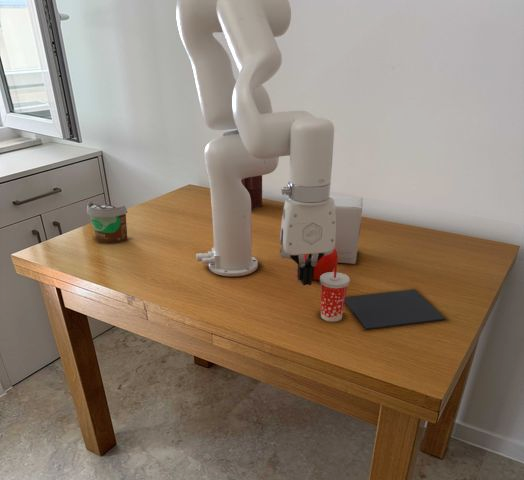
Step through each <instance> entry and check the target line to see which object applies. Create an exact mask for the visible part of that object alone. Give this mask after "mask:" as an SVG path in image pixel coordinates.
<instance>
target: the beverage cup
mask: <svg viewBox="0 0 524 480" xmlns="http://www.w3.org/2000/svg"><path fill="white" fill-rule="evenodd" d="M337 261H338V255H336V257H335V267H334V270H333V271H332V272H328V273H324V274H322V275H321V276H320V280H319V283H320V317H321V319H323V320H324V321H326V322H332V323H333V322H338V321H341V320H342V319H343V313H344V309H345V304H346V303H345V297H347V292H348V291H347V290H348V286H349V285H350V277H349V276H348V275H347V274H345V273H342V272H339V271H338V262H337ZM337 271H338V272H337Z"/></svg>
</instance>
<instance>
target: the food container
mask: <svg viewBox="0 0 524 480" xmlns="http://www.w3.org/2000/svg"><path fill="white" fill-rule="evenodd" d="M86 214H87V215H89V217H90V220H91V224H92V227H93V232H94V234H95V238H96V241H97V242H99V243H103V244H117V243H122V242H125V241H127V240H128V228H127V227H128V226H127V214H128V210H127V207H126V205H122V206H119V207H117V206H113V205H111V204H97V203H96V204H95V203H93V200H90V201H89V202H87V205H86Z"/></svg>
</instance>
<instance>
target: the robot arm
mask: <svg viewBox="0 0 524 480" xmlns="http://www.w3.org/2000/svg"><path fill="white" fill-rule="evenodd" d="M175 7H176V8H175V13H176V14H175V17H176V24H177V29H178V33H179V36H180V39H181V41H182V44H183V47H184V49H185V51H186V53H187V56H188V59H189V61H190V64H191V67H192V70H193V76H194V81H195V82H194V83H195V87H196V92H197V96H198V101H199V106H200V111H201V114H202V118H203V121H204V123H205V125H206V126H207V128H209V129H210V130H215V131H226V130H237V129H238V132H239V134H235V135H227V136H223V135H221V136H218V137H215V138H213V139H211V140H210V141H208V143H207V144H206V146H205V148H204V153H203V157H204V163H205V168H206V173H207V177H208V182H209V191H210V203H211V217H212V219H211V220H212V236H213V237H212V238H213V239H212V240H213V247H211V251H210V250H209V251H207V252H204V253H201V252H200V253H195V260H196V262H201V263H202V265H205V264H207V265H208V269H209V270H210V271H211V272H212V273H213V274H216V275H219V276H221V277H222V276H223V277H232V278H233V277H242V276H246V275H249V274H252V273H254V272H255V271H256V270H257V269H258V268H259V267H258V266H259V261H258V259H257V258H255V256H253V247H252V244H253V242H252V241H253V239H252V238H253V235H252V233H253V232H252V231H253V230H252V210H251V197H250V194H249V192H248V191H247V189H246V188H245V187H244V186H243V184H242V182H241V180H242V179H244V178H248V177H254V176H260V175H262V176H265V175H269V174H271V173H273V172H275V170H276V169H277V168H278V165H279V161H280V157H286V156H289V179H288V183H287V185H285V186H282V187H281V195H283V196H284V195H286V196H288V197H286V198H285V201H284V204H283V210H282V216H281V223H280V224H281V225H280V234H279V235H280V236H279V237H280V238H279V242H280V245H281V246H280V250H279V256H280V257H281V258H282V259H287V260H292V261H294V262H295V263H296V264H297V272H296V273H297V275H296V276H297V280H298V281H300V283H301V284H302V286H307V285H308V286H311V285H312V280H314V279H313V278H314V266H316V265H317V262H318V261H319V260H320V259H321V258H322V257H323V256H325V255H328V254H331V253H333V249H334V248H335V243H336V215H335V204H334V199H333V198H331V197H330V196H331V185H332V184H331V183H332V169H333V168H332V167H333V155H334V142H335V141H334V140H335V126H334V123H333V121H332V120H330V119H327V118H324V117H317V116H315V115H314V114H312V113H310V112H309V111H305V110H291V111H290V110H289V111H278V112H273V106H272V102H271V98H270V95H269V92H268V91H267V89H266V88H265V87H264V85H263V84H265V83H266V82H269V80H271V79H272V78H273V77H274V76H275V75H276V74H277V73H278V71H279V70H280V68H281V65H282V61H283V55H282V52H281V50H280V48H279V44H278V43H277V40H276V39H275V38H279V37H282V36H283V35H285V34H286V32H287V31H288V30H289V27H290V25H291V20H292V9H291V5H290V1H289V0H176V6H175ZM214 33H223V36H224V38H225V41H226V43H227V45H228V48H229V50H230V53H231V56H232V58H233V61H234V63H235V66H236V69H237V70H238V73H239V74H238V76H237V79H236V78H235V75H234V71H233V64H232V59H231V58H230V55H229V54H228V51H227V50H226V49H225V47H224V46H223V45H222V43H220V41H219V40H218V39H216V38H215V36H214ZM306 254H308V256H307V260H306V261H305V256H304V255H306Z"/></svg>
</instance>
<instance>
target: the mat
mask: <svg viewBox="0 0 524 480" xmlns="http://www.w3.org/2000/svg"><path fill="white" fill-rule="evenodd" d="M344 304H345V305H346V306H347V307H348V309H349V310H350V311H351V313H352V314H353V315H354V317H355V318H356V319H357V321H358V322H359V323H360V324H361V326H362V327H363V328H364V329H365V330H367V331H369V330H375V329H383V328H392V327H401V326H409V325H416V324H424V323H431V322H441V321H445V320H446V318H445V317H444V316H443V314H441V313H440V312H439V311H438V310H437V309H436V308H435V307H434V306H433V305H431V303H430V302H429V301H427V299H425V298H424V297H423V296H422V295H421V294H420V293H419V292H418V291H417V290H416V289H406V290H399V291H398V290H397V291H389V292H379V293H370V294H360V295H353V296H346V297H345V303H344Z"/></svg>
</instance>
